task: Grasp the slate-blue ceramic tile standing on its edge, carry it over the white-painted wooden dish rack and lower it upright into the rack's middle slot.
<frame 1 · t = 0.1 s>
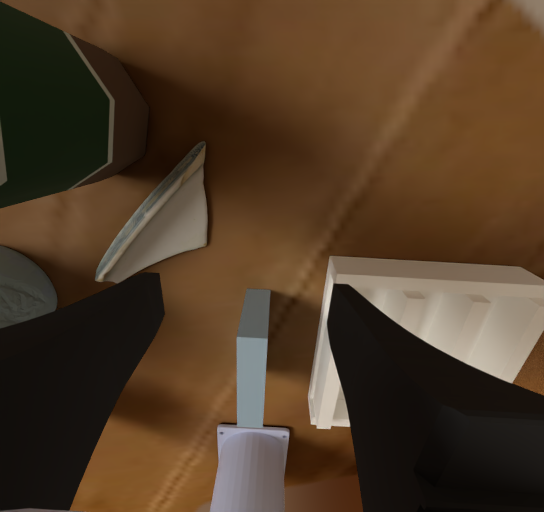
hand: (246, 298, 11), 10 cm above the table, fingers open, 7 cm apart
ceramic fragment: (159, 219, 21), on the table
beer bottle: (97, 115, 18), on the table
rack: (399, 340, 25), on the table
tile: (257, 330, 25), on the table
light blue cup: (7, 288, 24), on the table
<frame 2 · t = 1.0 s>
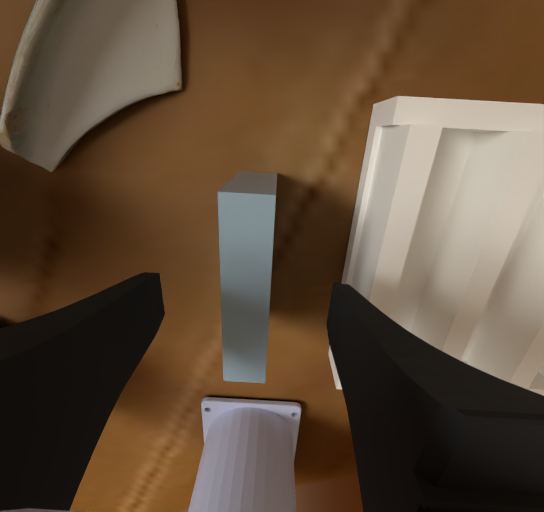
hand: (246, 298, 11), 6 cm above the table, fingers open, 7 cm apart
ceramic fragment: (106, 51, 13), on the table
rack: (469, 260, 16), on the table
tile: (256, 247, 17), on the table
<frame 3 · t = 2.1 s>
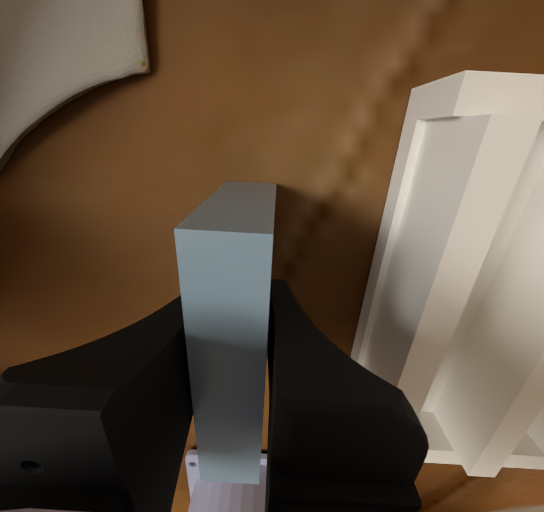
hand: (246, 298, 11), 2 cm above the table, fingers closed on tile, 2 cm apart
ceramic fragment: (43, 20, 9), on the table
rack: (525, 295, 13), on the table
tile: (249, 279, 13), on the table, touching gripper
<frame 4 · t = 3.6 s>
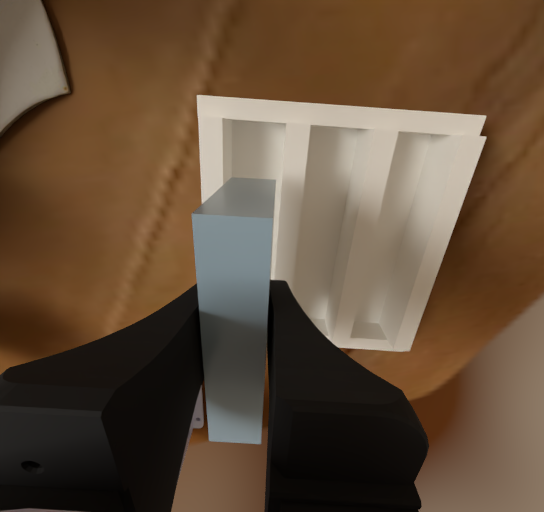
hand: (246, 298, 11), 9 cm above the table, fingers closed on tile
ceramic fragment: (10, 67, 17), on the table
rack: (314, 232, 20), on the table
tile: (251, 267, 14), point 6 cm above the table, touching gripper
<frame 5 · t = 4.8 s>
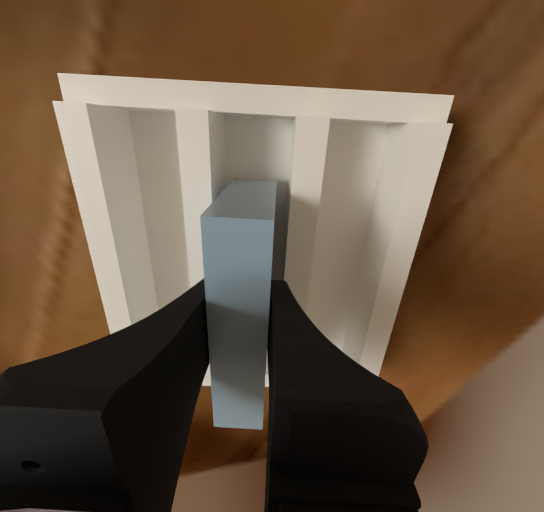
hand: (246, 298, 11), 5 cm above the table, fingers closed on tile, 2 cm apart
rack: (256, 248, 16), on the table
tile: (253, 264, 15), point 2 cm above the table, touching gripper
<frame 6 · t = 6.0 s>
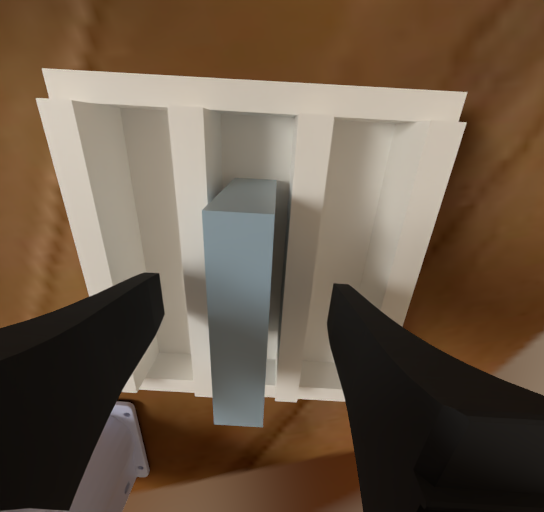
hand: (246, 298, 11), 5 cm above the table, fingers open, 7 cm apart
rack: (255, 253, 16), on the table
tile: (253, 263, 15), point 1 cm above the table, touching rack
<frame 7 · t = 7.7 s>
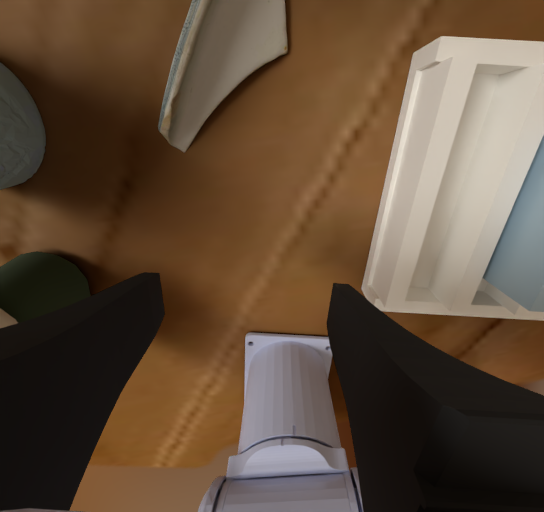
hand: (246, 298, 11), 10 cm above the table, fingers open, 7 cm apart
ceramic fragment: (220, 38, 16), on the table
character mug: (59, 280, 23), on the table
rack: (489, 197, 19), on the table
tile: (498, 203, 18), point 1 cm above the table, touching rack
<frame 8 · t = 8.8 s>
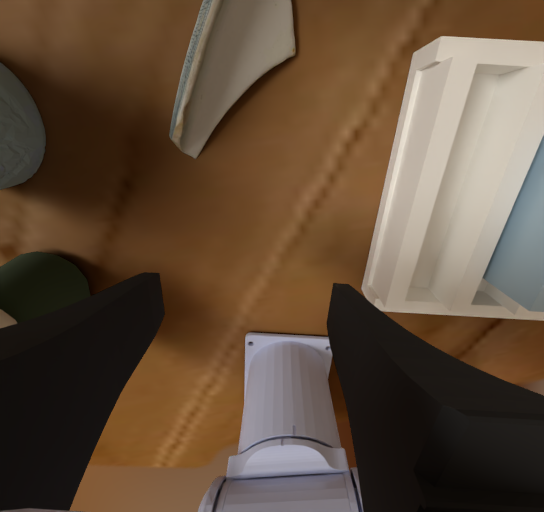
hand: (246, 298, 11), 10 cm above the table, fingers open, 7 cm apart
ceramic fragment: (227, 44, 16), on the table
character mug: (59, 280, 23), on the table
rack: (489, 197, 19), on the table
tile: (498, 203, 18), point 1 cm above the table, touching rack
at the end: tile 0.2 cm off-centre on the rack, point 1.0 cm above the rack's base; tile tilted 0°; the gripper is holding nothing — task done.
